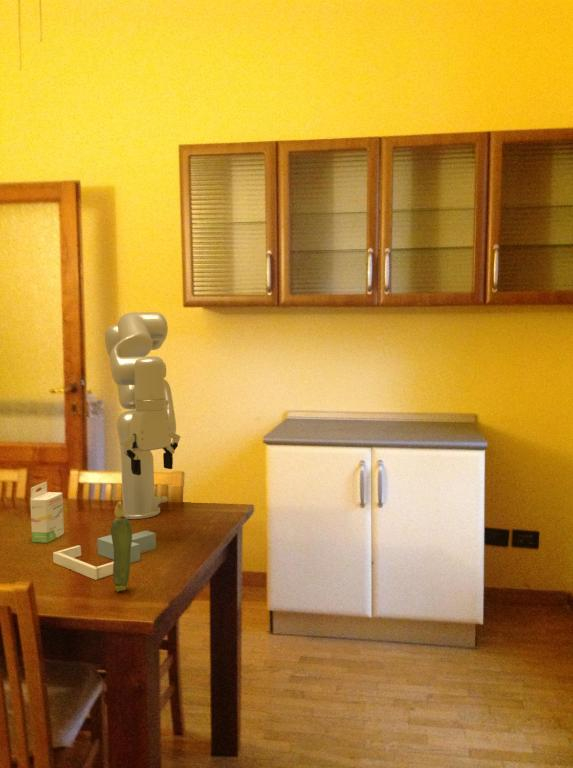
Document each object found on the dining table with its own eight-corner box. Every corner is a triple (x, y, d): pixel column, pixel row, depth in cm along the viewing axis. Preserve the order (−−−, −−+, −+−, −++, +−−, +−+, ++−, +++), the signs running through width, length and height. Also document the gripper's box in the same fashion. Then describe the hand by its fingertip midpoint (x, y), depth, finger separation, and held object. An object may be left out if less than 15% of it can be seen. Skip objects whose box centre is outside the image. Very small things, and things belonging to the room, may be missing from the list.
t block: (137, 542, 183) (136, 527, 183) (165, 551, 175) (165, 536, 175) (97, 554, 174) (97, 538, 174) (126, 564, 166) (125, 548, 166)
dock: (79, 555, 173) (78, 545, 173) (121, 571, 162) (121, 560, 161) (53, 562, 168) (53, 552, 168) (95, 579, 156) (95, 569, 156)
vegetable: (115, 586, 152) (111, 497, 150) (135, 585, 152) (131, 496, 151) (111, 594, 148) (108, 502, 146) (132, 593, 148) (129, 502, 146)
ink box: (48, 543, 183) (45, 488, 182) (31, 542, 184) (28, 488, 183) (65, 533, 192) (62, 481, 190) (48, 532, 193) (46, 480, 191)
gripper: (169, 402, 187) (171, 464, 189) (113, 408, 175) (115, 474, 177) (186, 403, 182) (188, 468, 183) (128, 410, 170) (131, 478, 171)
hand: (152, 471), depth 180 cm, fingers open, 9 cm apart
